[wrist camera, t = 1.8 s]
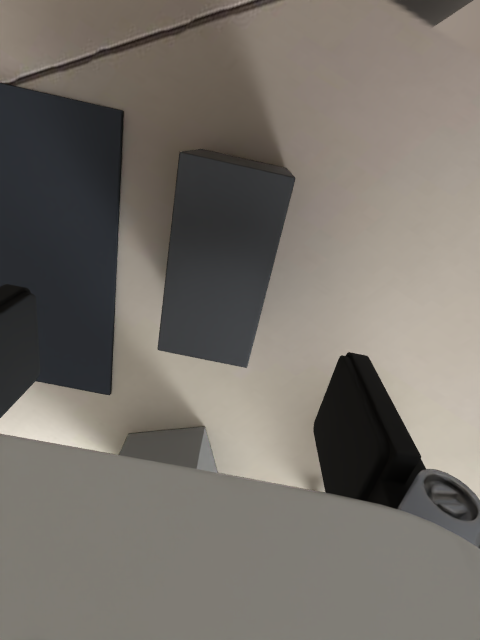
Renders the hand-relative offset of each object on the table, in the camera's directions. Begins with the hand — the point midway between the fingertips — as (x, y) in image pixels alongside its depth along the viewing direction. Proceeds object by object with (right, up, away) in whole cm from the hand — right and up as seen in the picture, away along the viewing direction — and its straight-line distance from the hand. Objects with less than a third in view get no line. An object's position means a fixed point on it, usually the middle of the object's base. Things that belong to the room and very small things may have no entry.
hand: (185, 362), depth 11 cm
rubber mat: (-14, +5, +13) cm, 19 cm away
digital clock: (+1, +6, +12) cm, 13 cm away
